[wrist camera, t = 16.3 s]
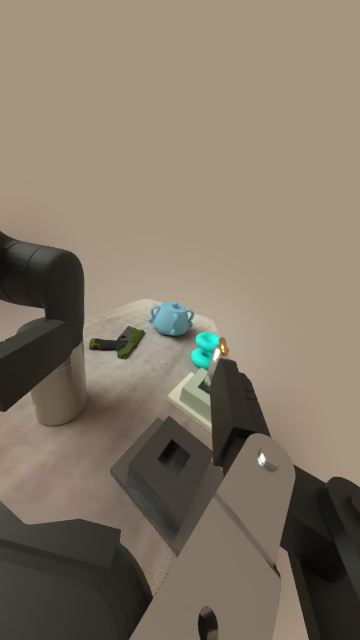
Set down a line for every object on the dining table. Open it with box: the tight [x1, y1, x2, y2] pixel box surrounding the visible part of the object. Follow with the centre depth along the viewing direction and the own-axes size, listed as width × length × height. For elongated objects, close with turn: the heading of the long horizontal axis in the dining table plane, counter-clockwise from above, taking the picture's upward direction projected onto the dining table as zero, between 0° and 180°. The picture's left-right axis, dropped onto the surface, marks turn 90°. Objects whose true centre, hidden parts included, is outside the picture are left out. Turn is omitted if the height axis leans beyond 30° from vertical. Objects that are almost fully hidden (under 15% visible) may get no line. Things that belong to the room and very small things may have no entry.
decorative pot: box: [149, 302, 194, 336], centre depth 75 cm, size 16×16×14 cm
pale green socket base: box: [167, 368, 212, 434], centre depth 44 cm, size 16×12×6 cm
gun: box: [89, 326, 144, 358], centre depth 63 cm, size 2×19×15 cm
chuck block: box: [111, 416, 223, 557], centre depth 29 cm, size 16×12×6 cm
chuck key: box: [202, 337, 229, 395], centre depth 41 cm, size 7×3×18 cm, turn 172°
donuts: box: [191, 332, 220, 369], centre depth 59 cm, size 10×10×10 cm
